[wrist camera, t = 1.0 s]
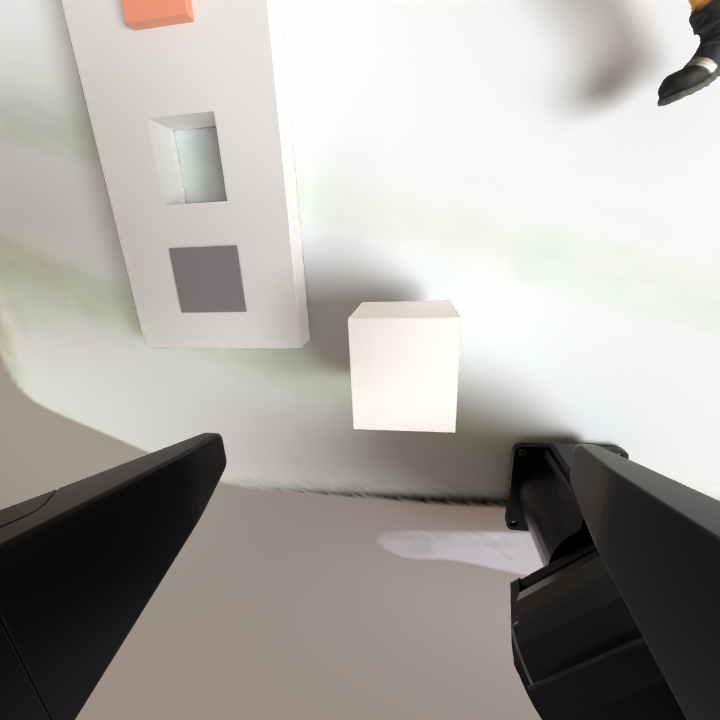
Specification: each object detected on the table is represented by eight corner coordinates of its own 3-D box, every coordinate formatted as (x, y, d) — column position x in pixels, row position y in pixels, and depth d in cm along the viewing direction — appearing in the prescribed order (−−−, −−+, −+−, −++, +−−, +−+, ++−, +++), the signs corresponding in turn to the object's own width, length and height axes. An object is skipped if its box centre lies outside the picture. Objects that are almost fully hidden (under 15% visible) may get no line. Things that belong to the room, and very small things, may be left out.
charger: (443, 379, 22) (455, 432, 16) (369, 378, 22) (353, 429, 16) (446, 295, 20) (461, 317, 14) (366, 296, 21) (347, 318, 15)
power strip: (310, 339, 22) (297, 351, 20) (167, 340, 23) (138, 351, 21) (272, -87, 16) (246, -148, 13) (80, -50, 17) (26, -98, 15)
